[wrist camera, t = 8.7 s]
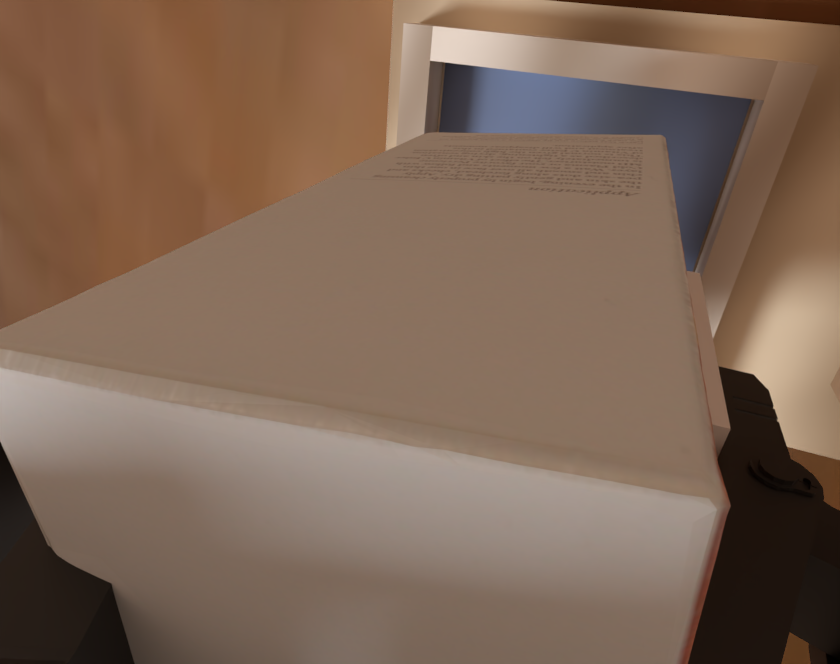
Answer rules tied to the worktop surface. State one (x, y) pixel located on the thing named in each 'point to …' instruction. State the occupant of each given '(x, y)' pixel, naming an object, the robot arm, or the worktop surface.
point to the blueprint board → (674, 153)
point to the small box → (392, 419)
